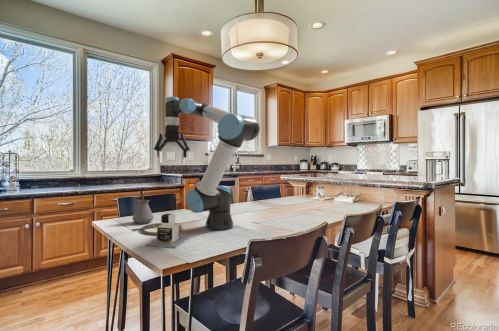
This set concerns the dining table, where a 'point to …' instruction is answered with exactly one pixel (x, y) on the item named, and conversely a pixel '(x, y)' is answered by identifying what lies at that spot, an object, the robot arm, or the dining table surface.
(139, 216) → the coffee pot
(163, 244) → the slate mat
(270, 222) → the dining table surface
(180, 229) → the woven rattan coaster
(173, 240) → the medicine bottle
